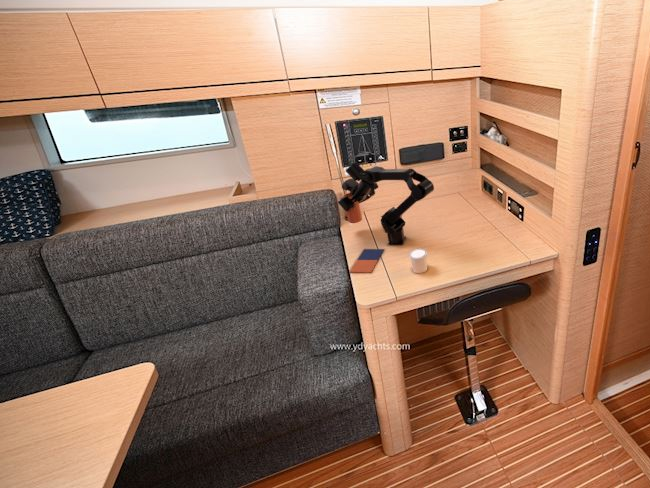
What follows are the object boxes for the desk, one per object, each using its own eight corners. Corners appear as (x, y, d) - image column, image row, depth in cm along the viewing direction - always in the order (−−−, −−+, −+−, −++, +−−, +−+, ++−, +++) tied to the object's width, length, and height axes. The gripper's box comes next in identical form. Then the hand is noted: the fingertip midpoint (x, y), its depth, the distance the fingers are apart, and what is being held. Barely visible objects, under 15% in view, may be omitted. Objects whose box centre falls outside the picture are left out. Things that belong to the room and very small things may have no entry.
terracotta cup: (364, 216, 161) (359, 192, 156) (359, 223, 155) (353, 197, 150) (351, 216, 162) (346, 192, 157) (346, 223, 156) (340, 198, 151)
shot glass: (421, 261, 134) (419, 246, 132) (432, 267, 130) (430, 252, 127) (407, 269, 130) (405, 254, 127) (419, 276, 125) (416, 260, 123)
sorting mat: (384, 249, 145) (383, 249, 145) (371, 272, 130) (370, 272, 130) (364, 249, 146) (364, 249, 146) (349, 272, 132) (349, 271, 131)
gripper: (365, 167, 155) (352, 187, 165) (336, 182, 140) (323, 202, 150) (381, 185, 155) (368, 203, 164) (353, 201, 140) (340, 220, 149)
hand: (350, 207), depth 157 cm, fingers closed on terracotta cup, 6 cm apart
